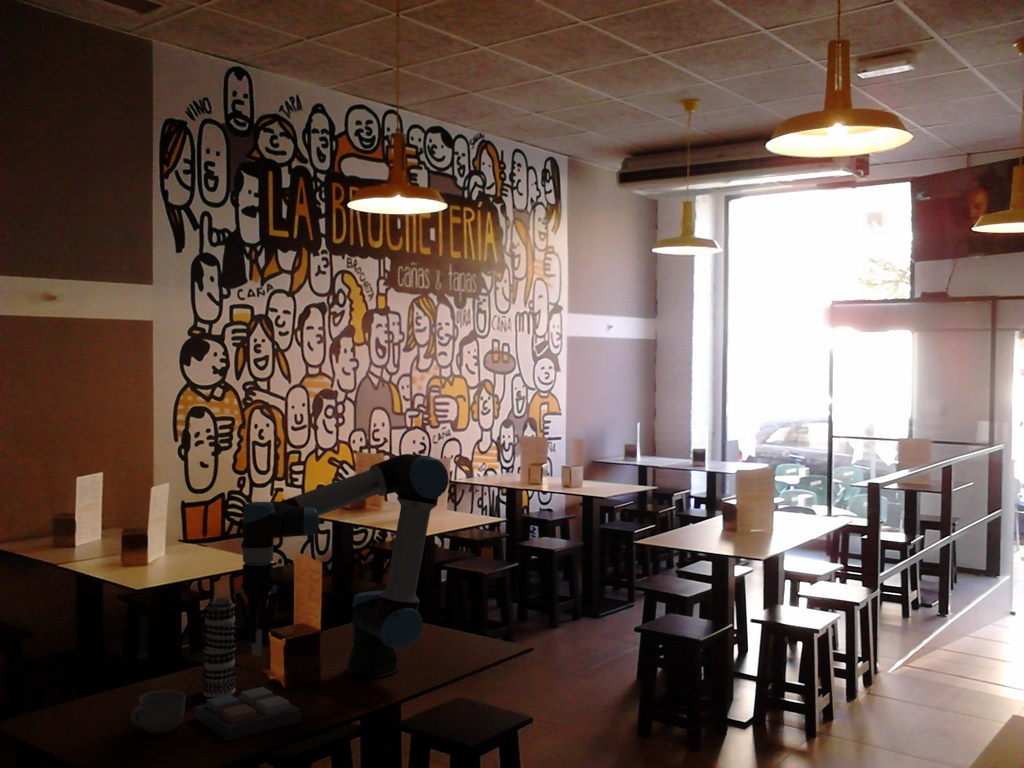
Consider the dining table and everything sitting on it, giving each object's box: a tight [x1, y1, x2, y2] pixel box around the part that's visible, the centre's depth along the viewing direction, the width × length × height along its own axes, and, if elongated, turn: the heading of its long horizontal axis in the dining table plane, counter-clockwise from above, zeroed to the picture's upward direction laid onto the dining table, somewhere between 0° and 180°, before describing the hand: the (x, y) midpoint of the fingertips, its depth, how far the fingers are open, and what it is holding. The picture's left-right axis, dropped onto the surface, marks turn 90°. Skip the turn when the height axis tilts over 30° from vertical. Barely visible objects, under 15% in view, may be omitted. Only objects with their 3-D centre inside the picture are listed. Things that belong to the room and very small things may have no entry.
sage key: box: [240, 686, 274, 706], centre depth 227 cm, size 6×6×3 cm
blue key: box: [206, 694, 240, 714], centre depth 221 cm, size 6×6×3 cm
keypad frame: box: [195, 693, 302, 742], centre depth 221 cm, size 19×19×3 cm
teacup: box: [130, 689, 187, 735], centre depth 213 cm, size 14×11×8 cm
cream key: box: [256, 695, 291, 716], centre depth 220 cm, size 6×6×3 cm
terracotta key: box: [222, 704, 256, 725], centre depth 215 cm, size 6×6×3 cm
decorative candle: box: [201, 598, 238, 699], centre depth 241 cm, size 9×9×25 cm
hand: (256, 654), depth 227 cm, fingers closed
